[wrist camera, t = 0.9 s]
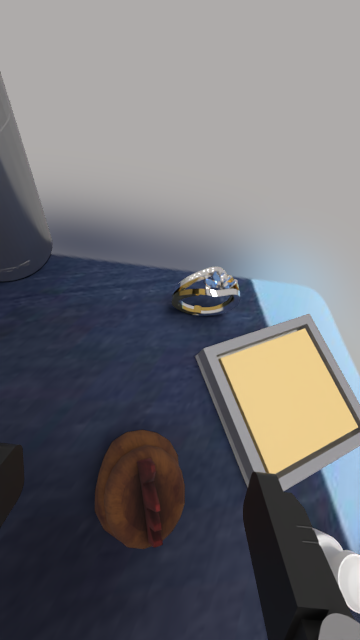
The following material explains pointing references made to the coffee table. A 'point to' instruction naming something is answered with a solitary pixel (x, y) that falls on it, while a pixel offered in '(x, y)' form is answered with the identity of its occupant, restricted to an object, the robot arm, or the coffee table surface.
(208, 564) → the coffee table surface
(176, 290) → the ring
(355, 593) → the decorative finial
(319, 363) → the yellow square panel
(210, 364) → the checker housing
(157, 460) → the wooden figurine
